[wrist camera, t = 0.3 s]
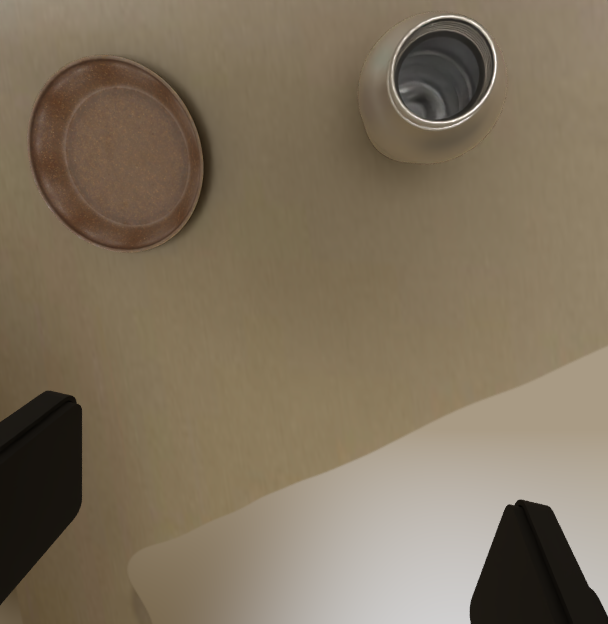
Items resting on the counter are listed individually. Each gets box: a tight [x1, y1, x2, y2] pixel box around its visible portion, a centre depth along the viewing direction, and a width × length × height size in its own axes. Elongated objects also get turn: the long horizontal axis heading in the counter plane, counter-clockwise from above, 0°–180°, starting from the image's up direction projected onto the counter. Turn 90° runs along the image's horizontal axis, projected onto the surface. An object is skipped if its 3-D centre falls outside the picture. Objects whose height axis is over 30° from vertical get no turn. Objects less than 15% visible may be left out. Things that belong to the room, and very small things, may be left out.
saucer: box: [27, 55, 203, 253], centre depth 39 cm, size 15×15×3 cm
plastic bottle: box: [358, 11, 508, 164], centre depth 26 cm, size 6×7×20 cm
